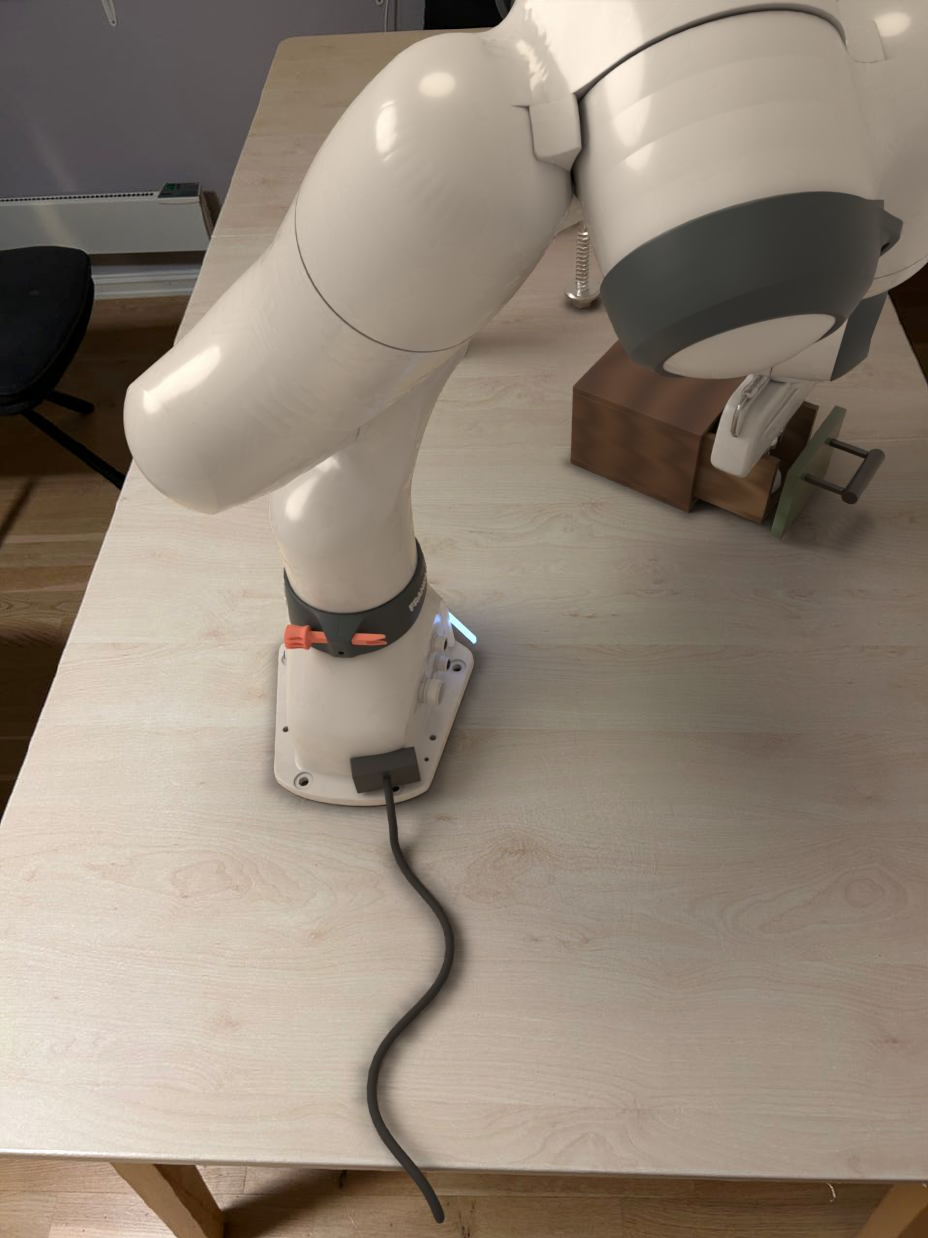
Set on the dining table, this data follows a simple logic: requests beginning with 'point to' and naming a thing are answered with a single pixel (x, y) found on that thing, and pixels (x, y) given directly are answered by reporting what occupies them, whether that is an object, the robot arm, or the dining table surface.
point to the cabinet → (645, 425)
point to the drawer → (786, 471)
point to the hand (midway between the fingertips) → (762, 453)
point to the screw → (582, 273)
